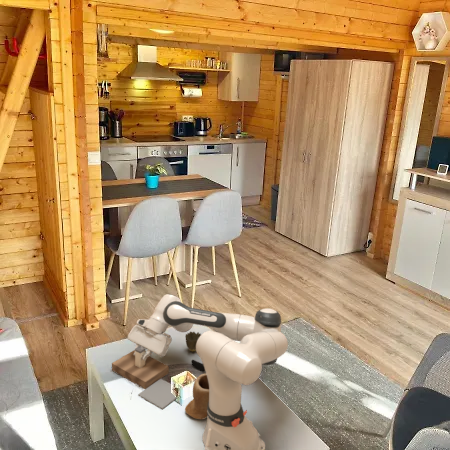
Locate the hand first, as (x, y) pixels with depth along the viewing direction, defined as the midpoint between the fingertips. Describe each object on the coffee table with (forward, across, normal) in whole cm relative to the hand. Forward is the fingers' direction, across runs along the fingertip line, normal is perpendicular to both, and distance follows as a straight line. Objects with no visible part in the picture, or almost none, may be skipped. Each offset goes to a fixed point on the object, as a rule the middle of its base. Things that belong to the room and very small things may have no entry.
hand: (139, 357), depth 194 cm
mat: (+8, -17, -2) cm, 19 cm away
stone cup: (+5, -36, -5) cm, 37 cm away
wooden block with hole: (+5, 0, -6) cm, 7 cm away
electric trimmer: (-8, -22, -19) cm, 30 cm away
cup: (-14, -7, -25) cm, 30 cm away
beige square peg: (+4, 0, -5) cm, 6 cm away
